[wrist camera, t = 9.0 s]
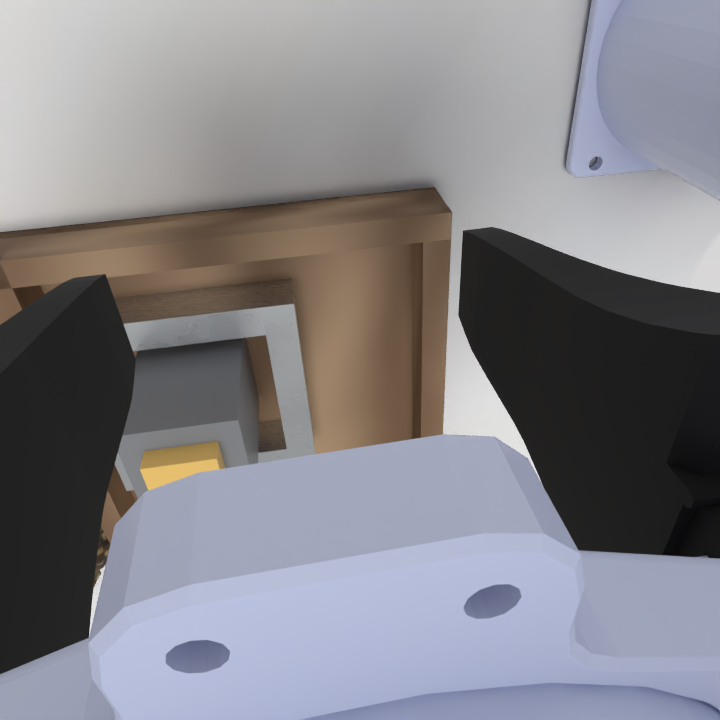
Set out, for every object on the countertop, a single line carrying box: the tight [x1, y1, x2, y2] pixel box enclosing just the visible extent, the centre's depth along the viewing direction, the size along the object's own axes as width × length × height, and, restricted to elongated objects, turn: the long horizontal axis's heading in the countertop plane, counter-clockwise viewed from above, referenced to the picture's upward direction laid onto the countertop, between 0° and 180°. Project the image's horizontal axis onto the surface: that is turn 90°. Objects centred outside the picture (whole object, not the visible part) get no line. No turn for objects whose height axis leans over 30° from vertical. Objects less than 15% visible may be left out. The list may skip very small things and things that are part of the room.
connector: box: [118, 338, 259, 499], centre depth 22 cm, size 4×4×7 cm
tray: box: [0, 188, 452, 544], centre depth 25 cm, size 16×18×2 cm
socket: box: [114, 278, 316, 491], centre depth 24 cm, size 8×8×2 cm
